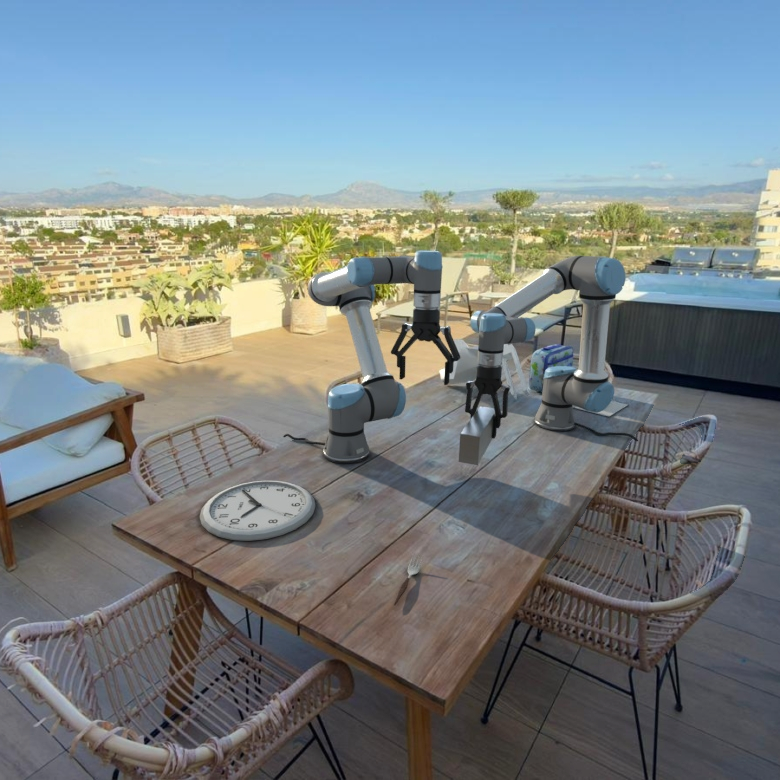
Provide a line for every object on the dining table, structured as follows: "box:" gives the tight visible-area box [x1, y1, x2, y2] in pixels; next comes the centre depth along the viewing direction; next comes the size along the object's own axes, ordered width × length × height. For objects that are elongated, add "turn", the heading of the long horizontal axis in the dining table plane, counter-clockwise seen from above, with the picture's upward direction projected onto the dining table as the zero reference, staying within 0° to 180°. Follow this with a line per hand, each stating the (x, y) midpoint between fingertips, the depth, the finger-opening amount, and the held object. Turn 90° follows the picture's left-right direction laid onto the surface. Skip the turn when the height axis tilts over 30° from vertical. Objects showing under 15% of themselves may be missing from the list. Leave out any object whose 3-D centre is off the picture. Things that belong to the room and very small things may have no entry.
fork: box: [393, 553, 424, 606], centre depth 112 cm, size 3×16×2 cm, turn 160°
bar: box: [458, 406, 496, 466], centre depth 157 cm, size 25×6×9 cm, turn 158°
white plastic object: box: [438, 338, 531, 400], centre depth 245 cm, size 37×45×31 cm
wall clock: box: [199, 480, 316, 542], centre depth 140 cm, size 30×2×30 cm
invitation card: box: [573, 400, 629, 418], centre depth 226 cm, size 21×1×15 cm
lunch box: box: [528, 344, 574, 393], centre depth 247 cm, size 26×11×21 cm, turn 134°
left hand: (424, 381), depth 152 cm, fingers open, 13 cm apart
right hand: (484, 435), depth 166 cm, fingers closed on bar, 6 cm apart
